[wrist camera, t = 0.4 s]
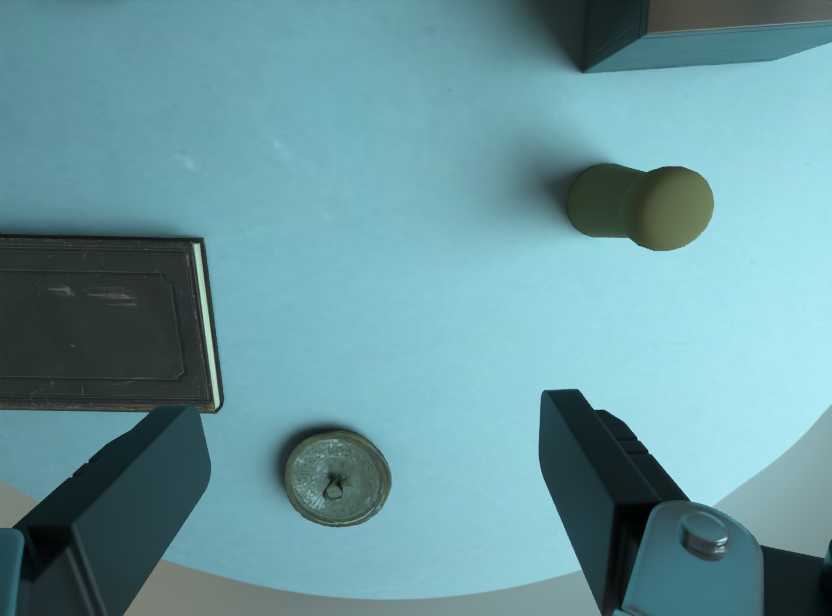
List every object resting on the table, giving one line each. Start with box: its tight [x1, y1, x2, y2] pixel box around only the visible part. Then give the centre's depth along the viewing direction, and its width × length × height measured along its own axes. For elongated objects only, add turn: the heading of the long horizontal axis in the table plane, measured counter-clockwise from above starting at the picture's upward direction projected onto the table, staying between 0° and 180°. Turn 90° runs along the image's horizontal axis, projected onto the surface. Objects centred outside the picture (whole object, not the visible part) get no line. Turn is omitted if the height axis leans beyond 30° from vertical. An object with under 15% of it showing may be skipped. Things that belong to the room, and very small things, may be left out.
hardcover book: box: [0, 234, 224, 414], centre depth 38 cm, size 16×23×2 cm
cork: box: [567, 164, 714, 251], centre depth 31 cm, size 6×6×11 cm
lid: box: [284, 429, 392, 527], centre depth 42 cm, size 11×10×5 cm
